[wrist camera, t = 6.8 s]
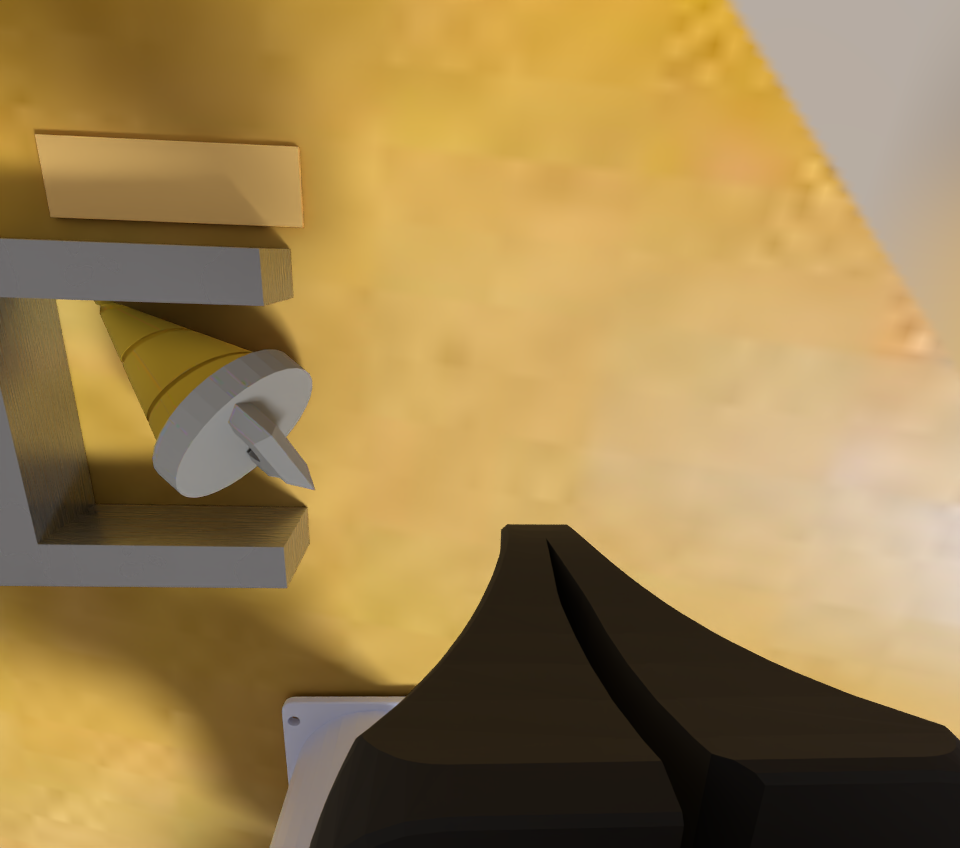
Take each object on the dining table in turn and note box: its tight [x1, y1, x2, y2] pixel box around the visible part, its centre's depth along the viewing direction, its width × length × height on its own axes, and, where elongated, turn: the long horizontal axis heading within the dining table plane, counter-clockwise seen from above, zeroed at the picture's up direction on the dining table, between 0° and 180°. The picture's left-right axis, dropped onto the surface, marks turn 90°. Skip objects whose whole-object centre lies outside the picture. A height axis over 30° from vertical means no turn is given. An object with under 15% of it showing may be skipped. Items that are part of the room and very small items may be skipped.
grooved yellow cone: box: [94, 300, 315, 498], centre depth 18 cm, size 5×5×10 cm
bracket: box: [0, 238, 310, 588], centre depth 18 cm, size 11×10×3 cm
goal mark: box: [35, 134, 304, 228], centre depth 17 cm, size 2×8×1 cm, turn 88°
